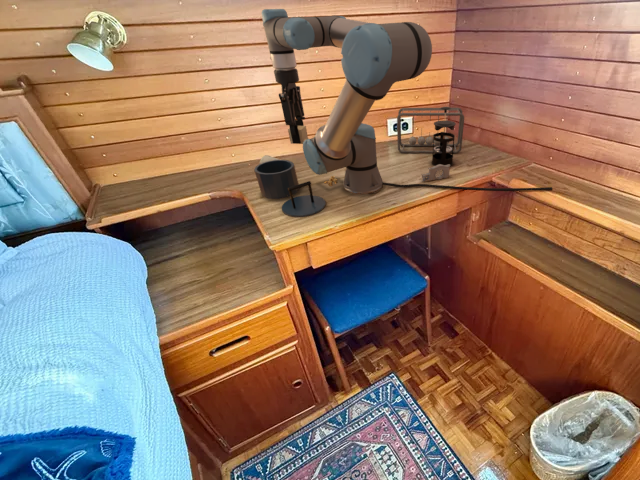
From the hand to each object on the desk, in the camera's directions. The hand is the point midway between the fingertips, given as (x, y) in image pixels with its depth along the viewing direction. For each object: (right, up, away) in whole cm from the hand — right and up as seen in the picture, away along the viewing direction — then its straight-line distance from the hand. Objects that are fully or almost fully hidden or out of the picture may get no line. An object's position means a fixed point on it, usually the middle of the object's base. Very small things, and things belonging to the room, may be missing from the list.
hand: (299, 140), depth 122 cm
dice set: (+10, -14, +9) cm, 20 cm away
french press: (+56, -1, +24) cm, 61 cm away
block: (0, 0, 0) cm, 0 cm away
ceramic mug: (-15, -8, +18) cm, 24 cm away
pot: (-8, -18, +4) cm, 20 cm away
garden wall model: (+52, -12, +11) cm, 54 cm away
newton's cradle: (+52, +10, +38) cm, 65 cm away
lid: (+4, -26, -7) cm, 27 cm away
